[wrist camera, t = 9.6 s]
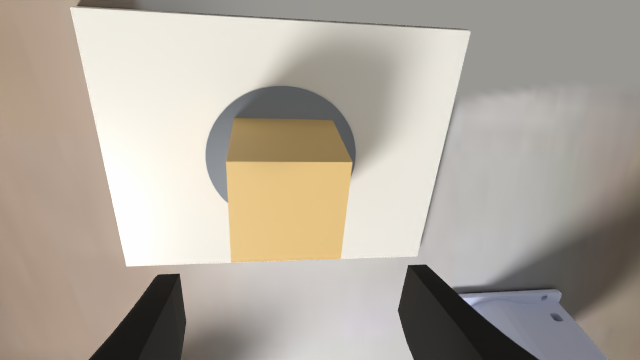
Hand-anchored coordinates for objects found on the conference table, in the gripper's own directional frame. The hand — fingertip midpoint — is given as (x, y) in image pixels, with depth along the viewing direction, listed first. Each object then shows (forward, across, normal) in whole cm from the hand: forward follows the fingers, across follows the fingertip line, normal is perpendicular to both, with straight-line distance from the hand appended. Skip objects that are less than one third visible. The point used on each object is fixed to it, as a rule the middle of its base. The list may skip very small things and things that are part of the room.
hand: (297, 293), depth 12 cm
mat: (+10, 0, 0) cm, 10 cm away
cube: (+10, 0, 0) cm, 10 cm away
